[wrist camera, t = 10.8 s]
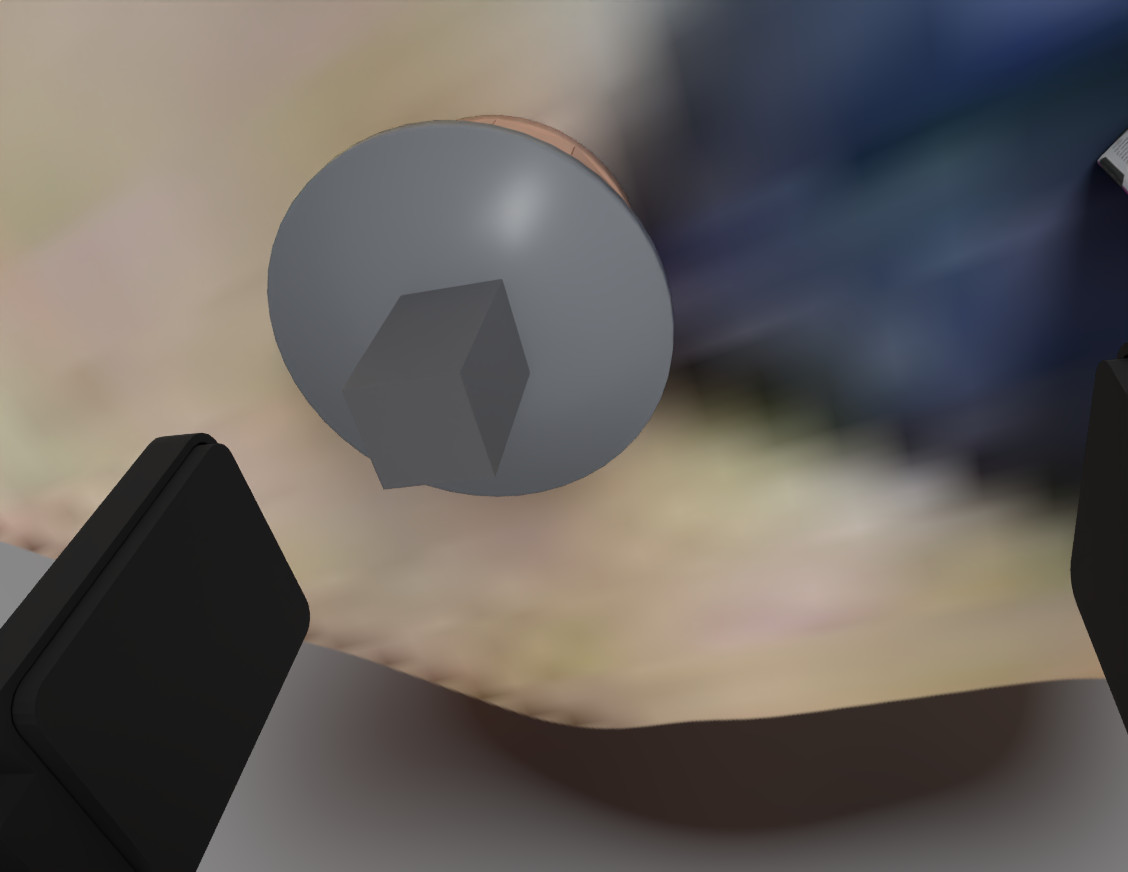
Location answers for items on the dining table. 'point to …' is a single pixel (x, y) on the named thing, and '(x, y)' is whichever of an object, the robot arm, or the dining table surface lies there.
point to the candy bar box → (1117, 161)
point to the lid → (471, 309)
